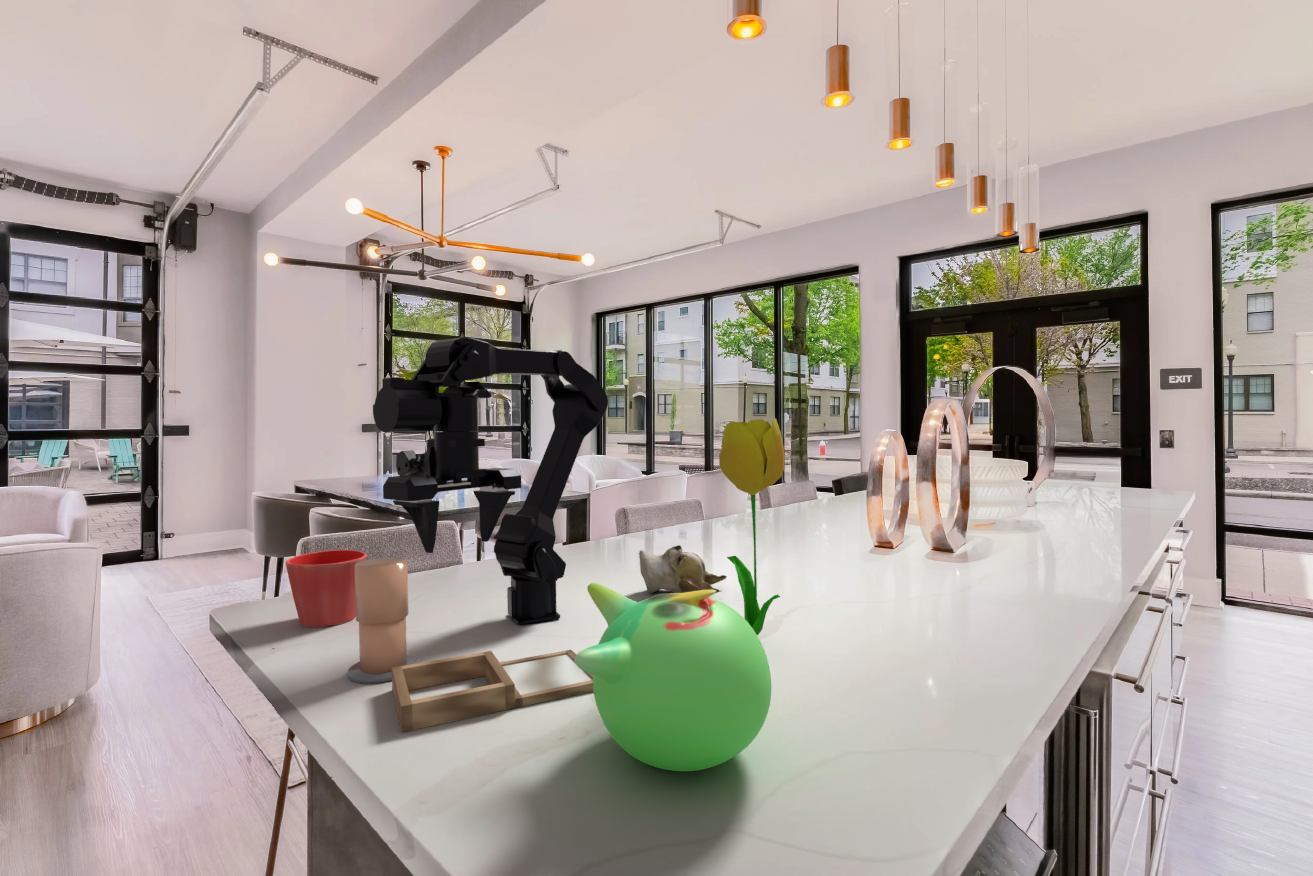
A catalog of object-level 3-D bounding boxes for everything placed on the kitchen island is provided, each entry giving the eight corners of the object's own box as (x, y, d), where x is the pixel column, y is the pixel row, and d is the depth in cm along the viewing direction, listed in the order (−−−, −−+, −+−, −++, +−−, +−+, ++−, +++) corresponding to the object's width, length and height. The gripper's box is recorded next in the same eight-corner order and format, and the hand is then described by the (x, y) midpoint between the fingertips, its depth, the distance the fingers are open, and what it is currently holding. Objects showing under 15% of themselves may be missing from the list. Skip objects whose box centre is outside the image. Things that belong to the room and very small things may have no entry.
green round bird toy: (797, 806, 49) (796, 616, 48) (575, 820, 47) (573, 624, 47) (745, 703, 66) (744, 564, 66) (584, 710, 65) (582, 568, 65)
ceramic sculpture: (647, 535, 116) (728, 543, 113) (645, 582, 117) (726, 591, 113) (631, 547, 106) (719, 556, 102) (629, 598, 107) (717, 609, 103)
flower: (792, 636, 87) (791, 417, 86) (778, 656, 80) (776, 417, 79) (732, 628, 91) (730, 418, 90) (713, 646, 83) (711, 418, 83)
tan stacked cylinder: (416, 656, 79) (414, 557, 79) (397, 675, 73) (395, 567, 73) (370, 657, 79) (368, 557, 79) (347, 675, 73) (345, 568, 73)
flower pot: (336, 633, 90) (334, 565, 90) (270, 629, 93) (268, 562, 92) (382, 611, 101) (381, 550, 101) (322, 608, 103) (320, 548, 103)
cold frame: (571, 656, 80) (570, 637, 80) (604, 688, 70) (603, 666, 70) (392, 689, 71) (391, 667, 71) (401, 732, 61) (401, 706, 61)
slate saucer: (413, 655, 81) (413, 650, 81) (420, 675, 75) (420, 670, 75) (347, 665, 78) (347, 661, 78) (348, 688, 71) (348, 683, 71)
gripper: (471, 430, 98) (473, 531, 98) (356, 433, 82) (359, 552, 83) (523, 430, 91) (524, 538, 92) (409, 432, 76) (411, 562, 76)
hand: (458, 546), depth 86 cm, fingers open, 9 cm apart
